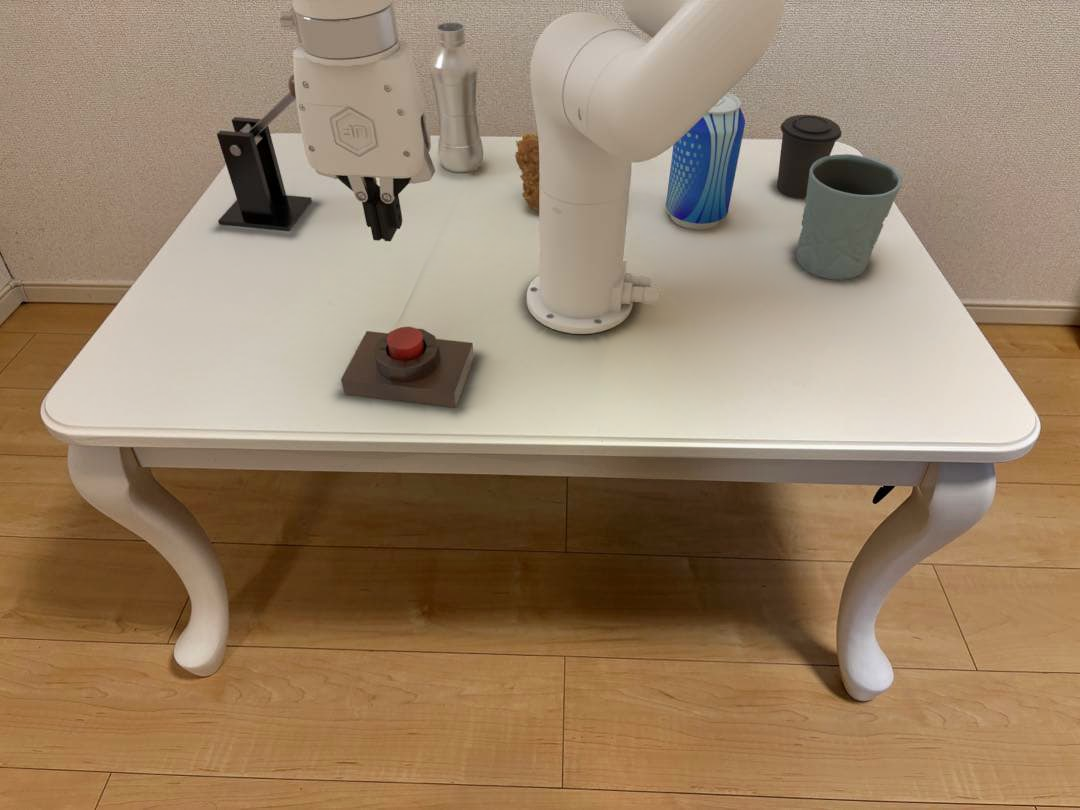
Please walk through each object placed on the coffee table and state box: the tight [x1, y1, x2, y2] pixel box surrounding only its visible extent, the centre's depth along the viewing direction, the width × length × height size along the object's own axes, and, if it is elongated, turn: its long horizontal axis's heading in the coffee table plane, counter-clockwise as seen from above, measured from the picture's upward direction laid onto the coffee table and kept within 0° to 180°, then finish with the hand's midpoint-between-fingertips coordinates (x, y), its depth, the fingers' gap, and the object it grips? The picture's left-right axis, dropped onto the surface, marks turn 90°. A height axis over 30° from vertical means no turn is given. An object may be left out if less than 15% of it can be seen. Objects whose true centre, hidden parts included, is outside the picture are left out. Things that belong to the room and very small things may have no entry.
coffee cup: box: [776, 114, 842, 199], centre depth 106 cm, size 8×8×10 cm
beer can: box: [665, 92, 746, 230], centre depth 99 cm, size 8×8×16 cm
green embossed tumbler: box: [796, 153, 903, 281], centre depth 93 cm, size 10×10×12 cm
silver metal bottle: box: [428, 22, 484, 174], centre depth 108 cm, size 6×7×20 cm
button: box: [387, 326, 424, 361], centre depth 79 cm, size 4×4×2 cm
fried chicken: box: [514, 133, 540, 213], centre depth 102 cm, size 10×14×13 cm
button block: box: [340, 327, 475, 409], centre depth 80 cm, size 12×8×4 cm, turn 80°
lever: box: [239, 73, 296, 145], centre depth 94 cm, size 15×3×3 cm
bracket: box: [216, 116, 313, 232], centre depth 101 cm, size 10×8×13 cm
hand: (386, 232), depth 72 cm, fingers closed
